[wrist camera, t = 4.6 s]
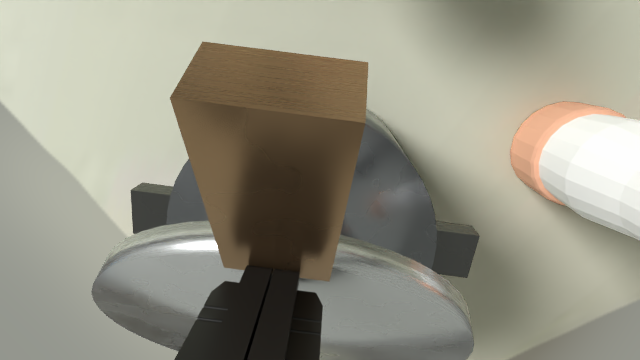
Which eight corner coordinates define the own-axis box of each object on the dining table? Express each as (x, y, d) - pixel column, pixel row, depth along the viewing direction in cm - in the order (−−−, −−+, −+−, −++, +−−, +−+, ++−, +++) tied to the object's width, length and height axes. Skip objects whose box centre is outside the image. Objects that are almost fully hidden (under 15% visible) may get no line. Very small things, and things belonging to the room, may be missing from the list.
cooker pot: (460, 109, 28) (521, 136, 19) (413, 304, 34) (440, 399, 25) (187, 74, 28) (110, 83, 19) (187, 274, 34) (129, 356, 25)
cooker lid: (750, 110, 6) (882, 246, 5) (408, 373, 24) (410, 421, 23) (-165, -5, 7) (-354, 85, 5) (166, 340, 25) (150, 385, 23)
